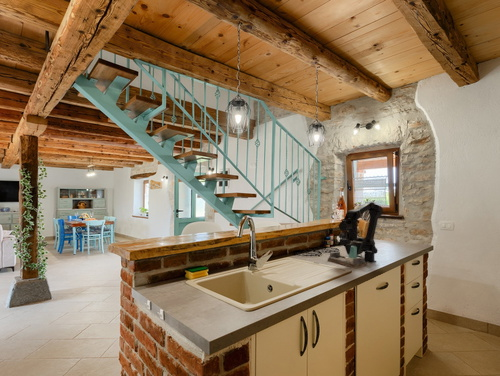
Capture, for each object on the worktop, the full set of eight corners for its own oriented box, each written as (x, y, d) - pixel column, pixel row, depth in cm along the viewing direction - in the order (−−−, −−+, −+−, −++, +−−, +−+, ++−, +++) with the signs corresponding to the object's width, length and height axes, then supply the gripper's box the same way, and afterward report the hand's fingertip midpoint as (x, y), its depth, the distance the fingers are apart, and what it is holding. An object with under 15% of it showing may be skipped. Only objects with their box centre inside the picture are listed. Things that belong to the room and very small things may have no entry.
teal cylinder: (352, 260, 188) (352, 245, 188) (360, 262, 182) (360, 246, 183) (345, 261, 184) (345, 246, 184) (352, 263, 179) (352, 247, 179)
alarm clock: (362, 255, 212) (362, 233, 212) (365, 257, 207) (365, 234, 207) (347, 254, 213) (348, 233, 213) (349, 256, 208) (349, 234, 208)
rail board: (340, 258, 200) (340, 251, 200) (366, 265, 181) (366, 257, 181) (327, 260, 194) (327, 252, 194) (353, 267, 175) (353, 259, 175)
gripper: (352, 227, 195) (352, 250, 195) (333, 229, 186) (333, 252, 186) (366, 229, 186) (366, 253, 185) (346, 231, 177) (346, 256, 176)
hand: (352, 253), depth 183 cm, fingers open, 8 cm apart
